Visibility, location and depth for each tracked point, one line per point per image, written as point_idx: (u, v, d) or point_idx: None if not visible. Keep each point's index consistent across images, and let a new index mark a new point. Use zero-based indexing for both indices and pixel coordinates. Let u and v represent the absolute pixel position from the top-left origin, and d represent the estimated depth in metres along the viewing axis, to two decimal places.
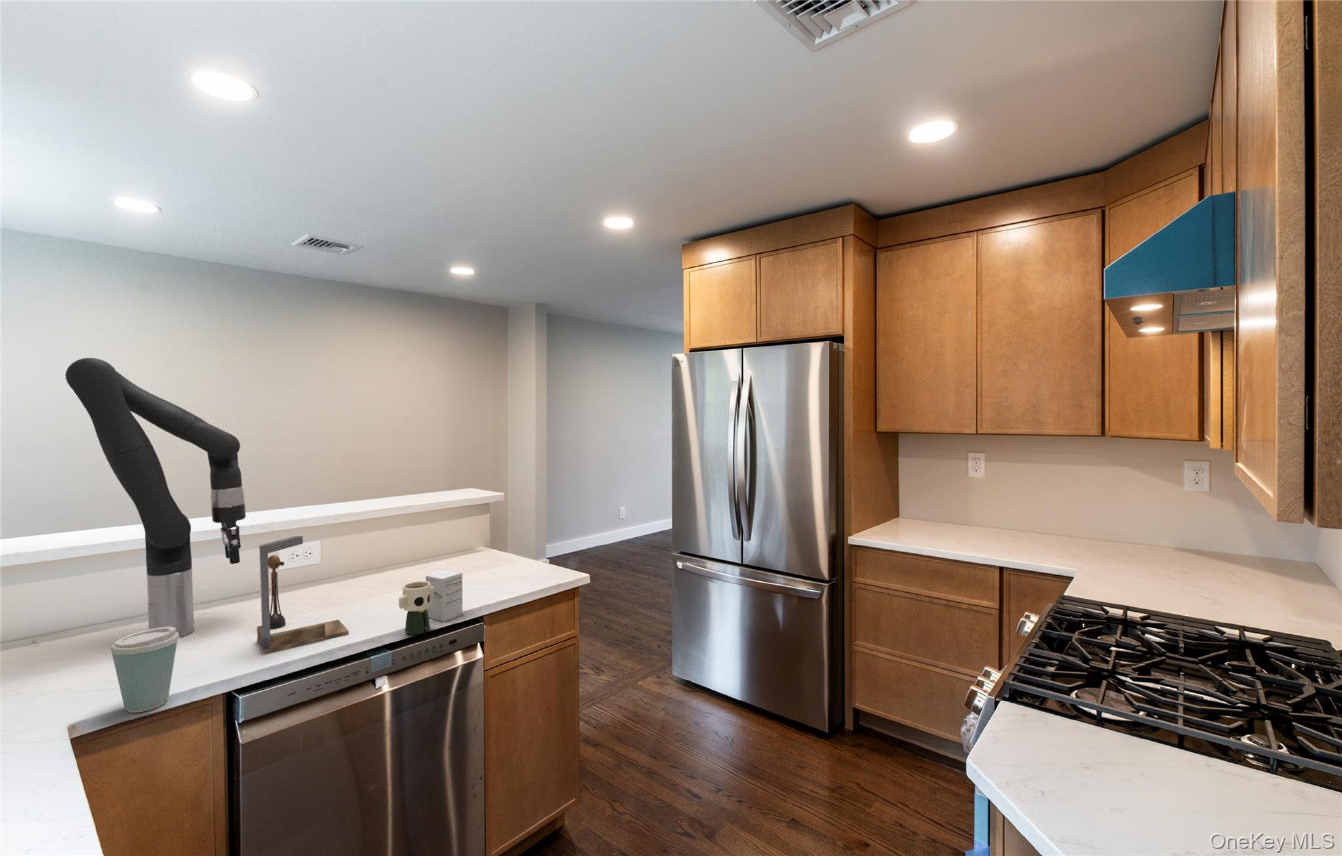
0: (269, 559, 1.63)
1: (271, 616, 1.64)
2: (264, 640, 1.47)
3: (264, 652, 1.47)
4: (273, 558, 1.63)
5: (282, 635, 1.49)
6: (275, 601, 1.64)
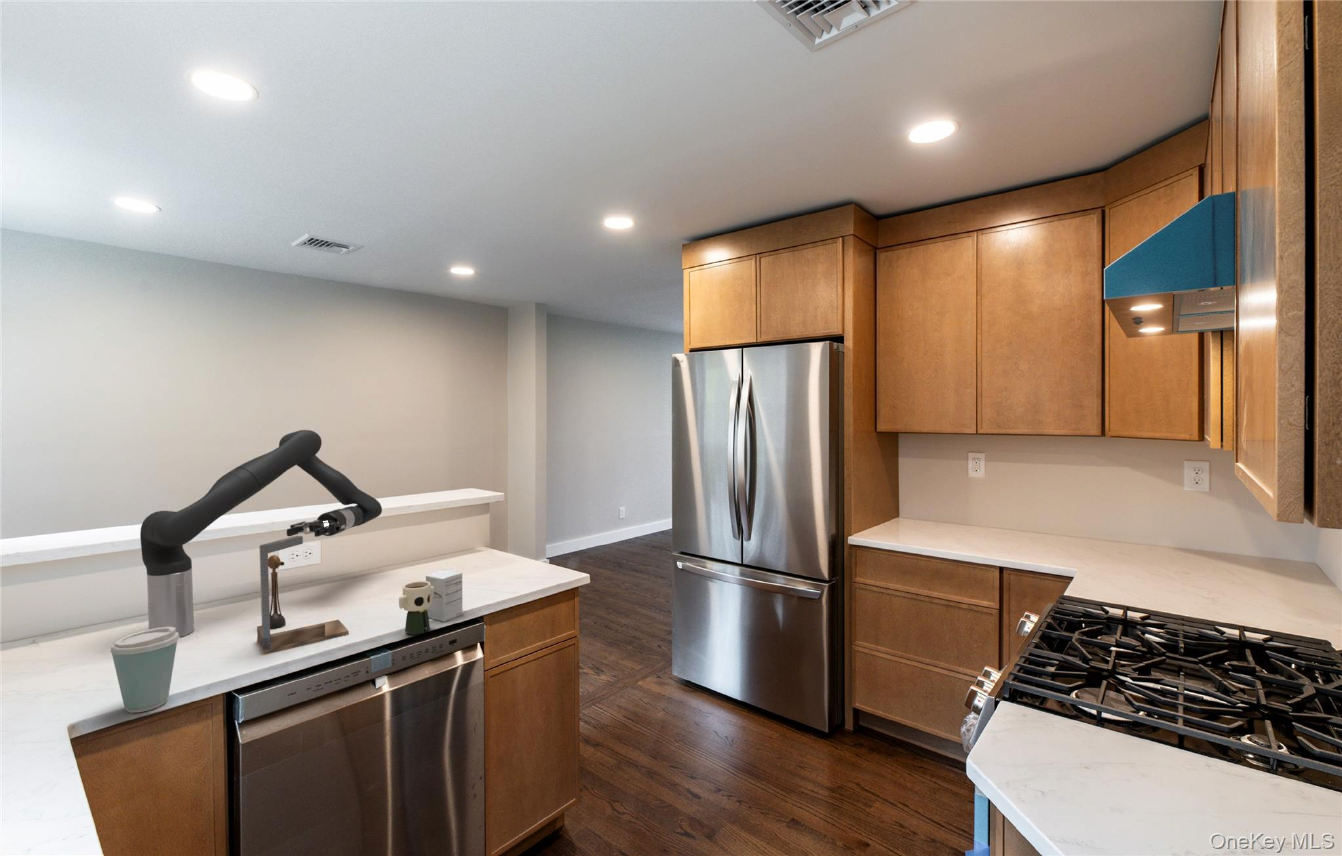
0: (269, 559, 1.63)
1: (271, 616, 1.64)
2: (264, 640, 1.47)
3: (264, 652, 1.47)
4: (274, 558, 1.63)
5: (282, 635, 1.49)
6: (275, 601, 1.64)
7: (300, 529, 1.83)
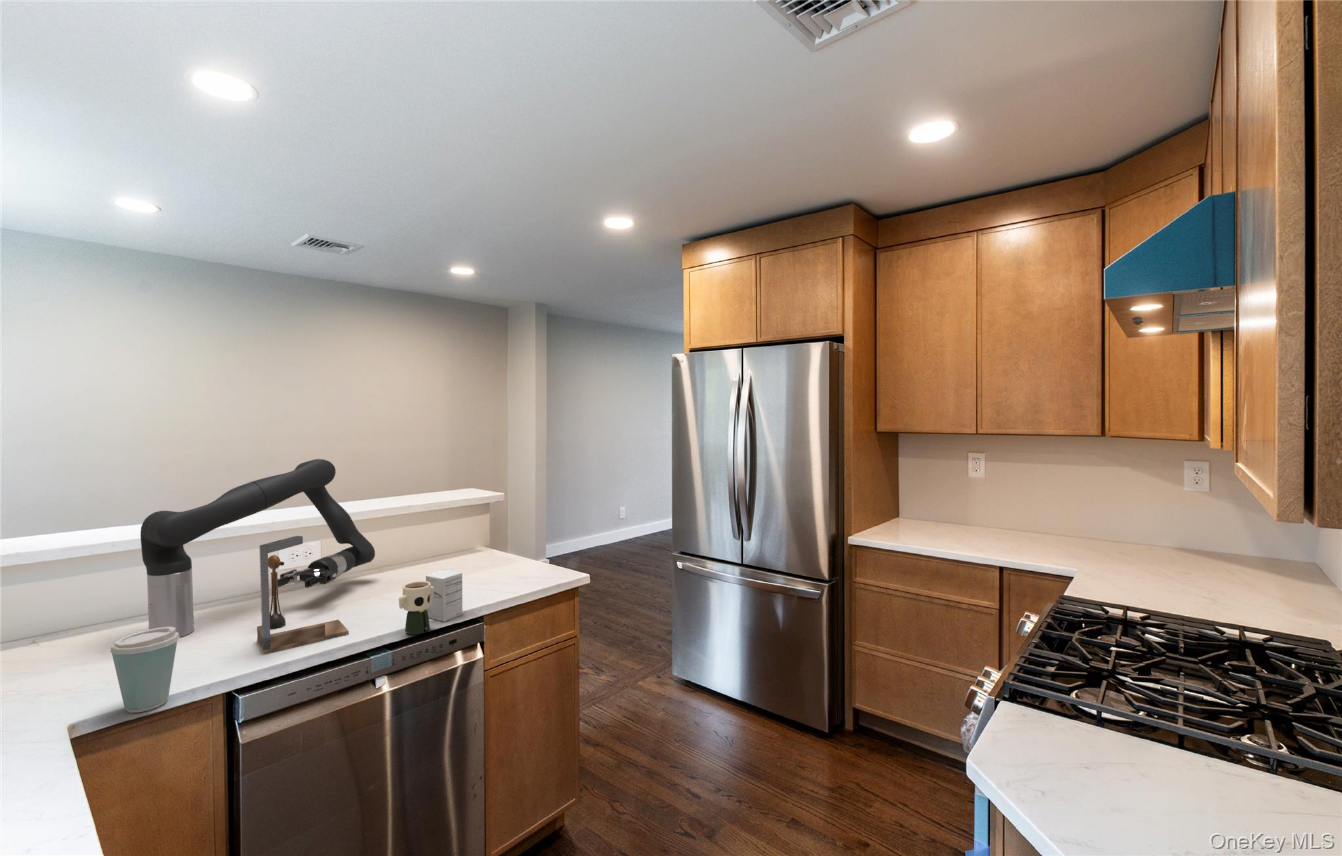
0: (269, 559, 1.63)
1: (271, 616, 1.64)
2: (264, 640, 1.47)
3: (264, 652, 1.47)
4: (273, 558, 1.63)
5: (282, 635, 1.49)
6: (275, 601, 1.64)
7: (290, 578, 1.79)
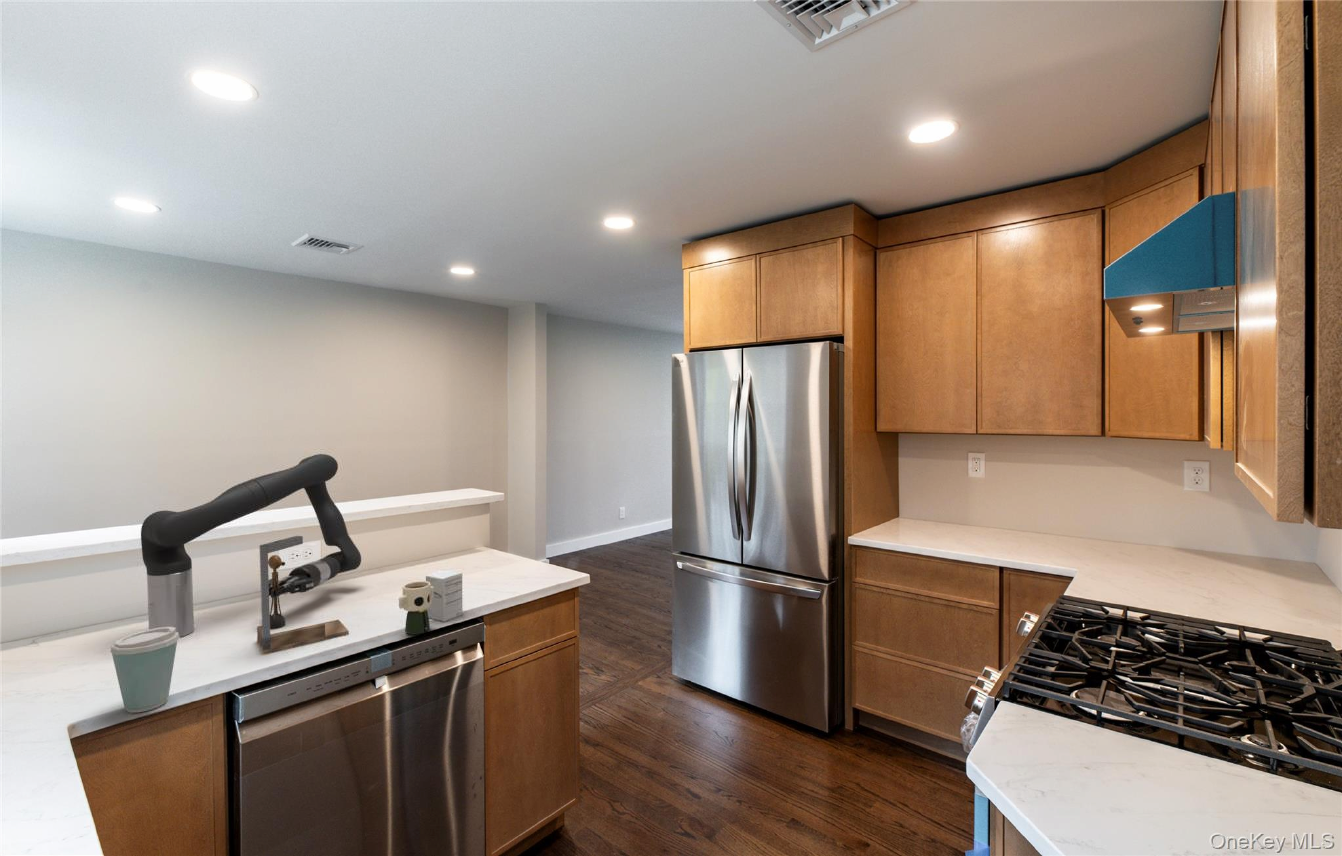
0: (270, 559, 1.63)
1: (271, 616, 1.64)
2: (264, 640, 1.47)
3: (264, 652, 1.47)
4: (275, 558, 1.63)
5: (282, 635, 1.49)
6: (275, 601, 1.64)
7: None
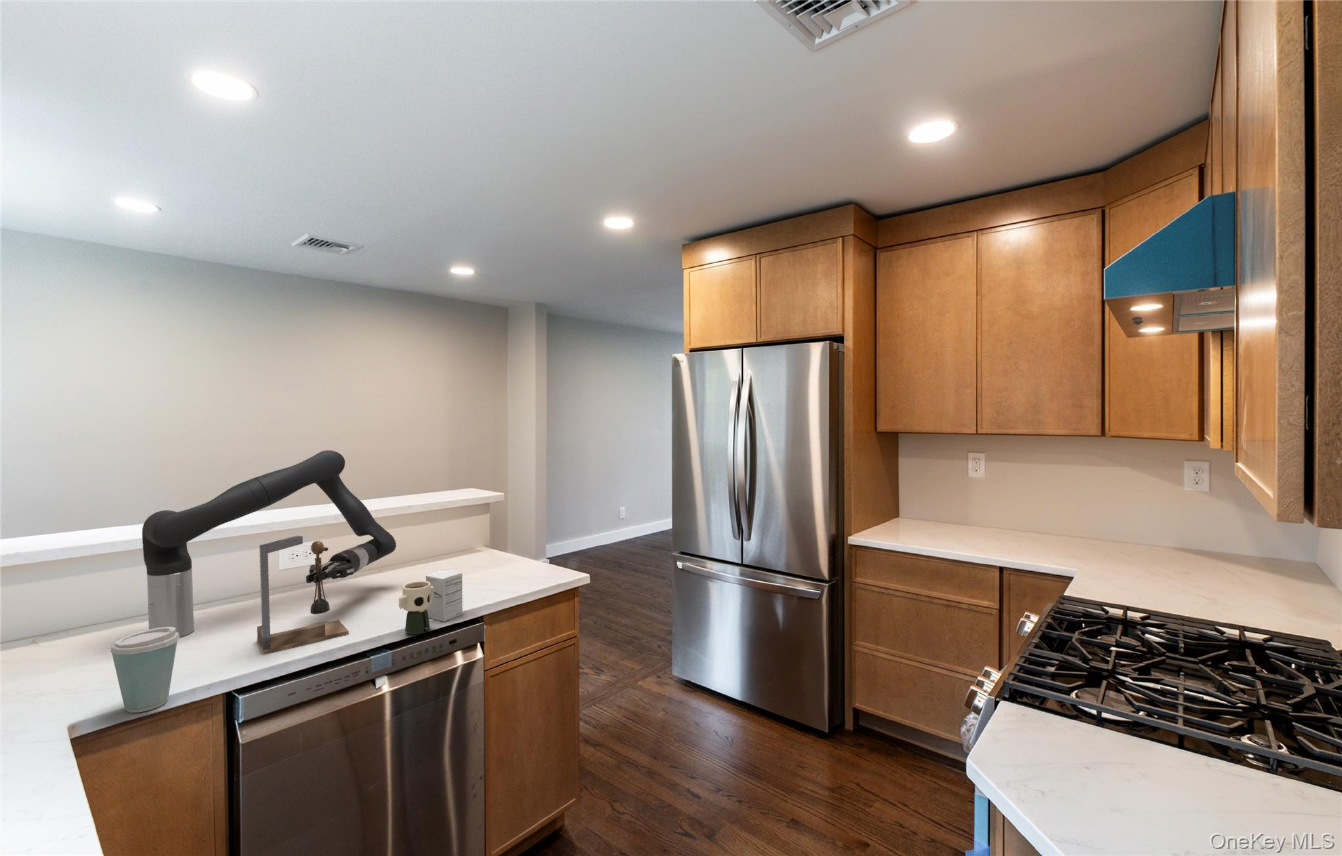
0: (313, 545, 1.64)
1: (316, 601, 1.65)
2: (264, 640, 1.47)
3: (264, 652, 1.47)
4: (317, 543, 1.64)
5: (282, 635, 1.49)
6: (319, 586, 1.66)
7: None
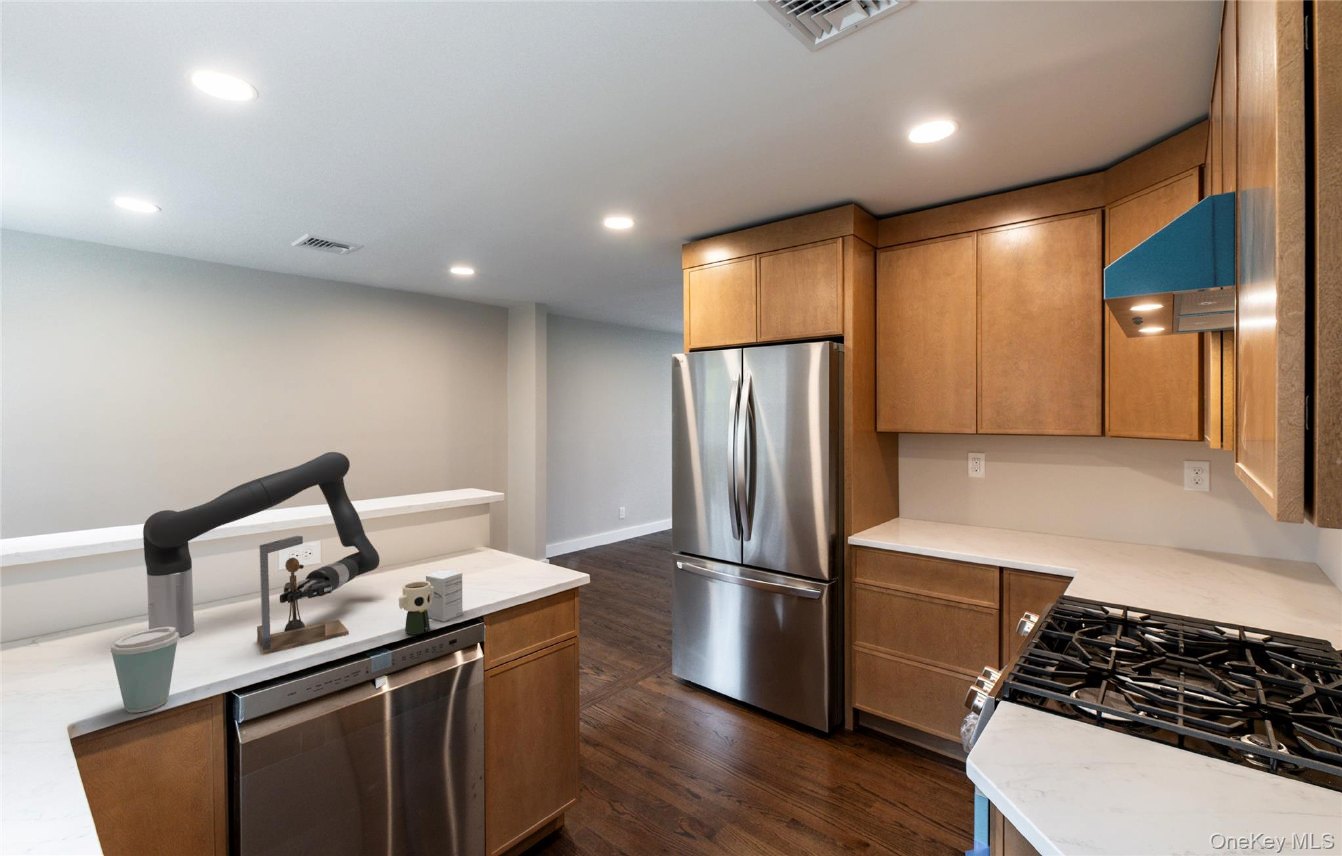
0: (288, 562, 1.54)
1: (290, 622, 1.55)
2: (264, 640, 1.47)
3: (264, 652, 1.47)
4: (292, 560, 1.54)
5: (282, 635, 1.49)
6: (294, 606, 1.56)
7: None
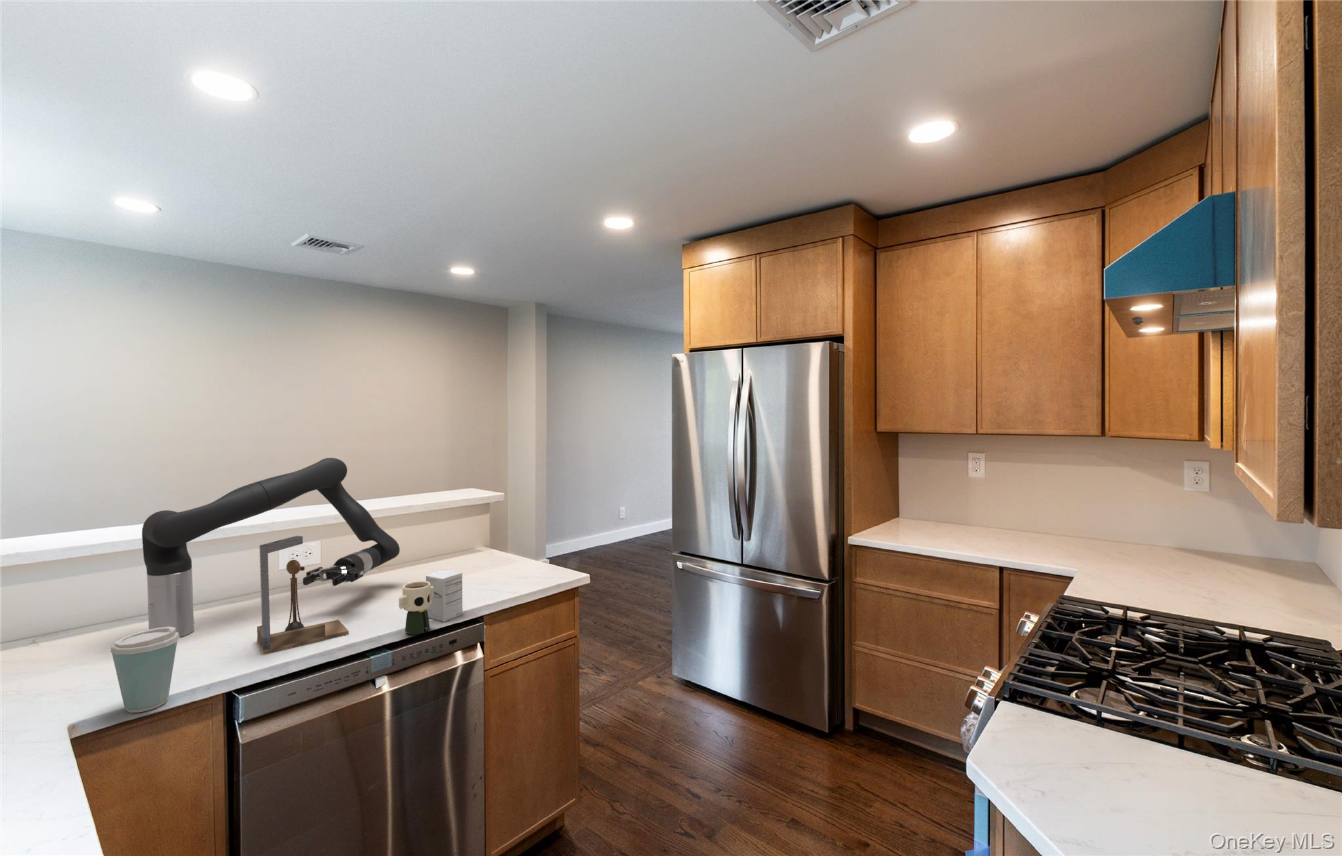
0: (289, 564, 1.55)
1: (290, 624, 1.55)
2: (264, 640, 1.47)
3: (264, 652, 1.47)
4: (293, 562, 1.55)
5: (282, 635, 1.49)
6: (294, 608, 1.56)
7: (316, 576, 1.74)
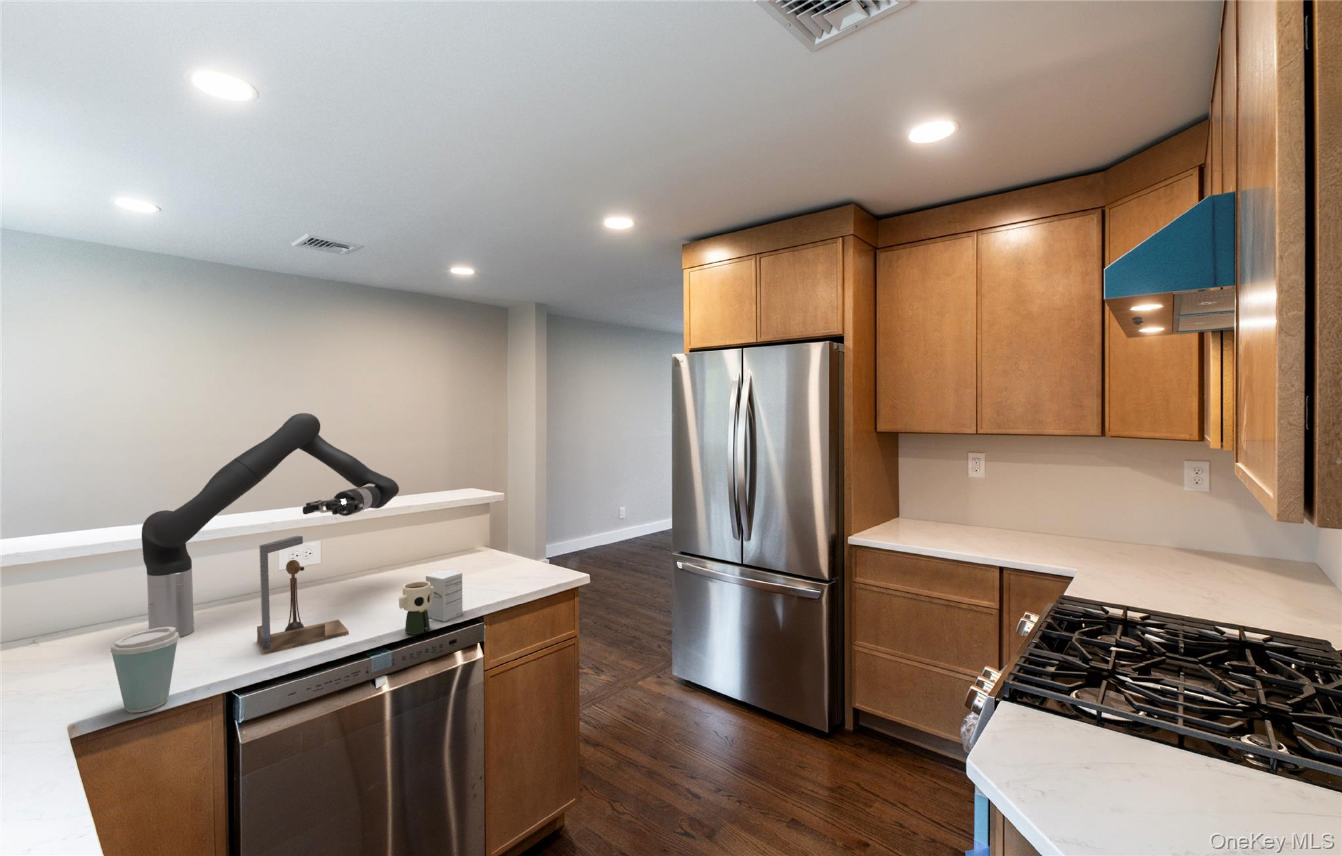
0: (288, 564, 1.55)
1: (290, 624, 1.55)
2: (264, 640, 1.47)
3: (264, 652, 1.47)
4: (293, 562, 1.55)
5: (282, 635, 1.49)
6: (294, 608, 1.56)
7: (316, 508, 1.74)
